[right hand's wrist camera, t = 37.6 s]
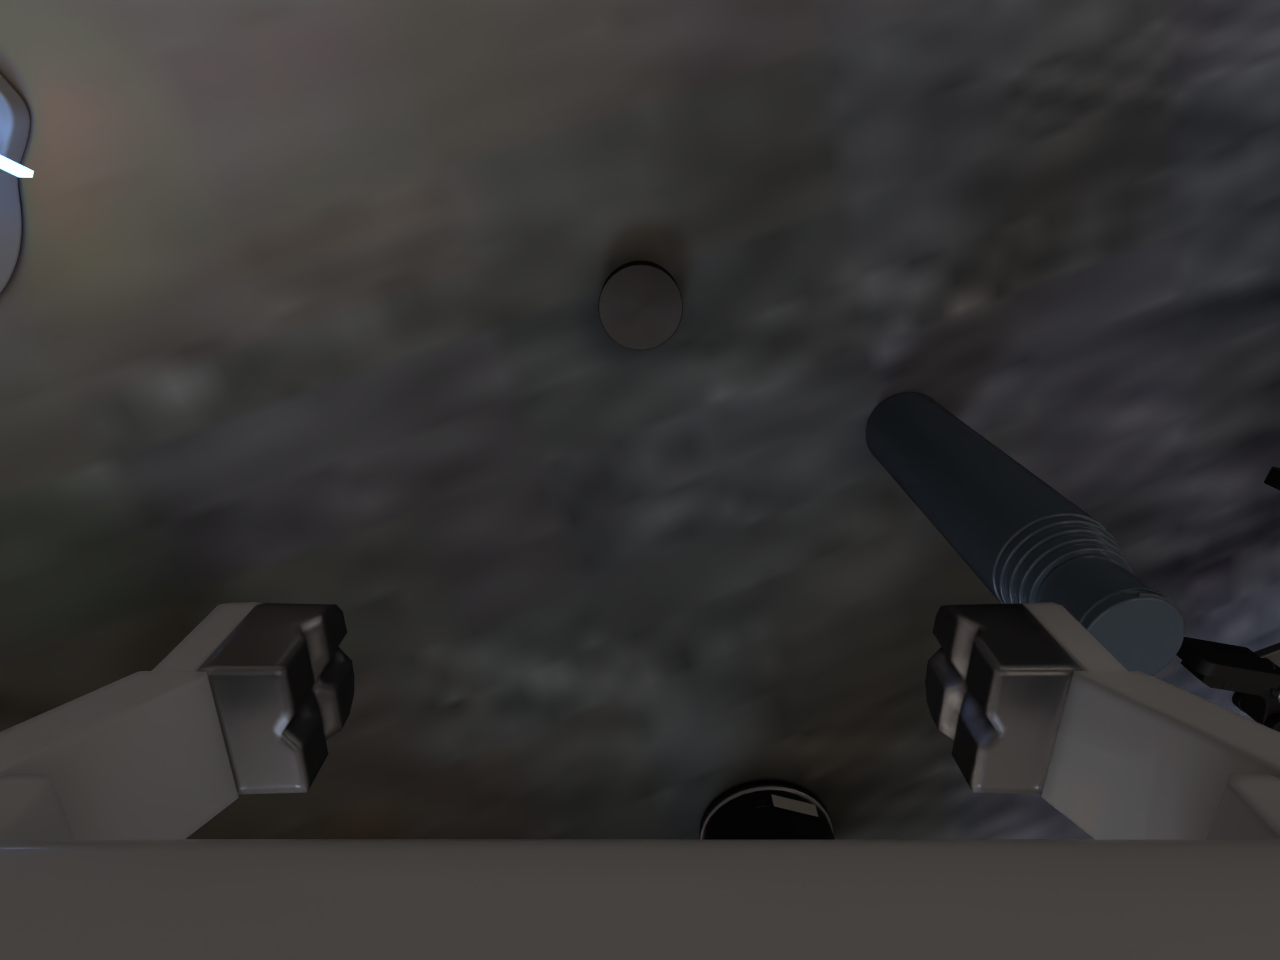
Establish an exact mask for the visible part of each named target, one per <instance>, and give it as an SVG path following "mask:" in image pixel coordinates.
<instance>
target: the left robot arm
mask: <svg viewBox="0 0 1280 960" xmlns="http://www.w3.org/2000/svg"><path fill="white" fill-rule="evenodd" d="M1264 483H1266V484H1268V485H1270V486H1272V487H1274V488H1276V489H1278V490H1280V468H1277V467H1272V468H1271V470H1270V472H1269V474H1268V475H1267V477H1266V479H1265V481H1264ZM1176 655H1177V656H1178V657H1180V658H1181V659H1182V662H1181V664H1182V665H1183V666H1184V667H1185V668H1187V669H1188V670H1189V671H1190V672H1191V673H1192V674H1194V675H1195V676H1196V677H1197V678H1198V679H1199V680H1201V681H1202V682H1203V683H1205V684H1206V685H1208V686H1209V687H1211V688H1217V689H1223V690H1229V691H1230V690H1231V691H1235V693H1234V695H1233V697H1232V702H1233V704H1234V705H1236V706H1237V707H1238V708H1239V709H1240V710H1241V711H1243V712H1245V713H1246V714H1248V715H1249V716H1250V717H1251V718H1252V719H1254V720H1255V721H1256V722H1257V723H1259V724H1262V725H1264V726H1266V727H1269V728H1271V729H1273V730H1275V731H1278V732H1280V643H1277V644H1275V645H1272V646H1269V647H1267V648H1264V649H1261V650H1258V651H1256V652H1252V651H1251V650H1250V649H1248V648H1246V647H1240V646H1234V645H1228V644H1222V643H1217V642H1211V641H1205V640H1199V639H1193V638H1188V637H1184V639H1183V642H1182V645H1181V647H1180V649H1179V651H1178V653H1177V654H1176ZM700 840H835V839H834V835H833V827H832V823H831V820H830V817H829V814H828V812H827V810H826V808H825V806H824V805H823V804H822V802H821V801H820V800H819V799H818V798H817V797H816V796H814V795H813V794H812V793H810V792H809V791H807V790H805V789H803V788H801V787H798V786H796V785H793V784H789V783H784V782H777V781H762V782H755V783H749V784H746V785H742V786H740V787H737V788H735V789H732V790H730V791H729V792H727V793H725V794H724V795H722V796H721V797H720V798H718V799H717V800H716V801H715V802H714V803H713V804H712V805H711V806H710V807H709V809H708V810H707V812H706V813H705V815H704V817H703V819H702V822H701V826H700Z"/></svg>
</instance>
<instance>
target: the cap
mask: <svg viewBox="0 0 1280 960" xmlns="http://www.w3.org/2000/svg"><path fill="white" fill-rule="evenodd" d="M598 308H599V317H600V320H601V323H602V325H603V328H604V329H605V331H606V332H607V334H608V335H609V336H610V337H611V338H612V339H613V340H614V341H615V342H617V343H618V344H620V345H622V346H624V347H626V348H630V349H634V350H647V349H652V348H655V347H657V346H660V345H661V344H663V343H665V342H666V341H667V340H668V339H669V338H670V337H671V336H672V335H673V334H674V333H675V331H676V330H677V328H678V326H679V324H680V321H681V318H682V312H683V302H682V297H681V293H680V290H679V288H678V285H677V283H676V281H675V280H674V278H673V277H672V276H671V274H670V273H669V272H668V271H667V270H665V269H664V268H663V267H661V266H659V265H657V264H655V263H652V262H648V261H634V262H630V263H626V264H624V265H622V266H620V267H619V268H617V269H616V270H615V271H614V272H612V274H611V275H610V276H609V277H608V279H607V280H606V282H605V284H604V286H603V289H602V291H601V294H600V298H599V306H598Z"/></svg>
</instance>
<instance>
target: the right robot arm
mask: <svg viewBox="0 0 1280 960" xmlns="http://www.w3.org/2000/svg"><path fill="white" fill-rule="evenodd" d="M29 129H30V116H29V111H28V109H27V106H26V104H25V103H24V101H23V99H22V98H21V97H20V95H19V94H18V93H17V92H16V91H15V90H14V88H13V87H12V86H11V85H10V84H9V83H8V82H7V81H6V79H5V78H4V77H3V76H2V75H1V74H0V293H1V292H2V290H3V289H4V288H5V286H6V284H7V283H8V281H9V279H10V277H11V275H12V273H13V271H14V268H15V266H16V263H17V259H18V256H19V251H20V245H21V236H22V215H21V206H20V197H19V189H18V177H32V176H33V172H34V171H32V170H30V169H28V168H26V167H24V166H22V165H20V162H21V159H22V156H23V153H24V150H25V147H26V143H27V139H28V135H29ZM346 634H347V629H346V625H345V620H344V615H343V611H342V610H341V609H340V608H339V607H338V606H337V605H336V604H291V603H263V604H262V603H260V602H253V603H226V604H220V605H218V606H217V607H216V608H215V609H214V610H213V611H212V612H211V613H210V614H209V615H208V616H207V617H206V618H205V619H204V620H203V621H202V622H201V623H200V624H199V625H198V626H197V627H196V628H195V629H194V630H193V631H192V632H191V633H190V634H189V635H188V636H187V637H186V638H185V639H184V640H183V641H182V642H181V643H180V644H179V645H178V646H177V647H176V648H175V649H174V650H173V651H172V652H171V653H170V654H169V655H168V656H167V657H165V658H164V659H163V660H162V661H161V662H160V663H159V664H158V665H157V666H156V667H155V668H154V669H153V670H152V671H139V672H137V673H134V674H132V675H130V676H127V677H125V678H123V679H121V680H118V681H116V682H114V683H111V684H109V685H107V686H105V687H102V688H100V689H98V690H95V691H93V692H91V693H89V694H86V695H84V696H82V697H80V698H77V699H75V700H73V701H70V702H68V703H66V704H64V705H61V706H59V707H57V708H54V709H52V710H50V711H48V712H45V713H43V714H41V715H38V716H36V717H34V718H32V719H29V720H27V721H25V722H22V723H20V724H18V725H16V726H13V727H11V728H9V729H6V730H4V731H2V732H0V960H1280V732H1278V731H1275V730H1273V729H1271V728H1269V727H1266V726H1264V725H1262V724H1259V723H1257V722H1255V721H1253V720H1250V719H1248V718H1246V717H1244V716H1241V715H1239V714H1237V713H1234V712H1232V711H1230V710H1228V709H1225V708H1223V707H1221V706H1219V705H1216V704H1214V703H1212V702H1209V701H1207V700H1205V699H1203V698H1200V697H1198V696H1196V695H1193V694H1191V693H1189V692H1187V691H1184V690H1182V689H1180V688H1178V687H1175V686H1173V685H1171V684H1168V683H1166V682H1164V681H1162V680H1159V679H1157V678H1155V677H1153V676H1150V675H1148V674H1146V673H1143V672H1141V671H1128V670H1127V669H1126V668H1125V667H1124V666H1123V665H1122V664H1121V663H1120V662H1119V661H1118V660H1117V659H1116V658H1115V657H1114V656H1113V655H1112V654H1111V653H1110V652H1109V651H1108V650H1107V649H1106V648H1104V647H1103V646H1102V645H1101V644H1100V643H1099V642H1098V641H1097V640H1096V639H1095V638H1094V637H1093V636H1092V635H1091V634H1090V633H1089V632H1088V631H1087V630H1086V629H1085V628H1084V627H1083V626H1082V625H1081V624H1080V623H1079V622H1078V621H1077V620H1076V619H1075V618H1074V617H1073V616H1072V615H1071V614H1070V613H1069V612H1068V611H1067V610H1066V609H1065V608H1064V607H1063V606H1062V605H1059V604H1056V603H1053V602H1043V603H1015V604H974V605H945V606H941V607H940V609H939V611H938V613H937V615H936V618H935V623H934V629H933V634H934V635H935V637H936V638H937V640H938V642H939V643H940V645H941V646H942V647H941V648H940V649H939V650H938V651H937V652H936V653H935V654H934V655H933V656H932V657H931V658H930V659H929V660H928V665H927V673H926V680H925V684H926V695H927V703H928V707H929V710H930V713H931V716H932V718H933V720H934V722H935V724H936V726H937V728H938V730H939V731H941V732H942V733H944V734H945V735H947V736H949V737H950V738H952V739H953V740H954V744H953V749H952V756H953V757H954V759H955V761H956V763H957V765H958V766H959V768H960V770H961V772H962V774H963V775H964V777H965V779H966V781H967V783H968V784H969V786H970V788H971V790H972V792H980V793H1017V794H1042V796H1041V797H1042V798H1043V799H1044V800H1046V801H1047V802H1048V803H1049V804H1051V805H1052V806H1053V807H1055V808H1056V809H1057V810H1058V811H1060V812H1061V813H1062V814H1064V815H1065V816H1066V817H1067V818H1069V819H1070V820H1071V821H1072V822H1074V823H1075V824H1076V825H1078V826H1079V827H1080V828H1081V829H1083V830H1084V831H1085V832H1087V833H1088V834H1089V835H1090V836H1092V837H1093V838H1094V839H1096V840H248V839H186V838H187V837H188V836H190V835H191V834H192V833H194V832H195V831H196V830H197V829H199V828H200V827H201V826H203V825H204V824H205V823H206V822H208V821H209V820H210V819H212V818H213V817H214V816H215V815H217V814H218V813H219V812H221V811H222V810H223V809H224V808H226V807H227V806H228V805H230V804H231V803H232V802H233V801H235V800H236V799H237V798H238V794H262V793H298V792H308V790H309V788H310V786H311V785H312V783H313V781H314V779H315V777H316V775H317V774H318V772H319V770H320V768H321V766H322V765H323V763H324V761H325V759H326V757H327V756H328V749H327V744H326V740H327V739H328V738H330V737H331V736H333V735H335V734H336V733H338V732H339V731H341V730H342V728H343V726H344V724H345V722H346V720H347V718H348V716H349V714H350V710H351V705H352V701H353V697H354V671H353V664H352V660H351V659H350V658H349V657H348V656H347V655H346V654H345V653H344V652H343V651H342V650H341V649H340V648H339V647H338V646H339V645H340V643H341V642H342V640H343V638H344V637H345V635H346Z"/></svg>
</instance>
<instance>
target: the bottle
mask: <svg viewBox="0 0 1280 960" xmlns="http://www.w3.org/2000/svg"><path fill="white" fill-rule="evenodd" d="M866 441H867V445H868V447H869V449H870V451H871V453H872V454H873V455H874V457H875V458H876V459H877V460H878V461H879V462H880V464H881V465H882V466H883V467H884V468H885V469H886V471H887V472H888V473H889V474H890V475H891V476H892V478H893V479H894V480H895V481H896V482H897V483H898V484H899V486H900V487H901V488H902V489H903V490H904V491H905V493H906V494H907V495H908V496H909V497H910V498H911V500H912V501H913V502H914V503H915V504H916V505H917V507H918V508H919V509H920V510H921V511H922V512H923V514H924V515H925V516H926V517H927V518H928V519H929V521H930V522H931V523H932V524H933V525H934V526H935V528H936V529H937V530H938V531H939V532H940V533H941V535H942V536H943V537H944V538H945V539H946V540H947V541H948V543H949V544H950V545H951V546H952V547H953V548H954V550H955V551H956V552H957V553H958V554H959V555H960V557H961V558H962V559H963V560H964V561H965V562H966V564H967V565H968V566H969V567H970V568H971V569H972V571H973V572H974V573H975V574H976V575H977V576H978V578H979V579H980V580H981V581H982V582H983V583H984V585H985V586H986V587H987V588H988V589H989V590H990V592H991V593H992V594H993V595H994V596H995V597H996V598H997V600H998V601H999V602H1000V603H1001V604H1015V603H1043V602H1053V603H1056V604H1059V605H1062V606H1063V607H1064V608H1065V609H1066V610H1067V611H1068V612H1069V613H1070V614H1071V615H1072V616H1073V617H1074V618H1075V619H1076V620H1077V621H1078V622H1079V623H1080V624H1081V625H1082V626H1083V627H1084V628H1085V629H1086V630H1087V631H1088V632H1089V633H1090V634H1091V635H1092V636H1093V637H1094V638H1095V639H1096V640H1097V641H1098V642H1099V643H1100V644H1101V645H1102V646H1103V647H1104V648H1106V649H1107V650H1108V651H1109V652H1110V653H1111V654H1112V655H1113V656H1114V657H1115V658H1116V659H1117V660H1118V661H1119V662H1120V663H1121V664H1122V665H1123V666H1124V667H1125V668H1126V669H1127V670H1128V671H1141V672H1143V673H1146V674H1148V675H1150V676H1152V675H1154V674H1156V673H1157V672H1159V671H1160V670H1162V669H1163V668H1164V667H1165V666H1167V665H1168V664H1169V663H1170V662H1171V661H1172V659H1173V658H1174V657H1175V656H1176V654H1177V653H1178V651H1179V649H1180V647H1181V645H1182V642H1183V639H1184V625H1185V622H1184V619H1183V615H1182V612H1181V611H1180V610H1179V608H1178V607H1177V605H1176V604H1175V603H1173V602H1172V601H1170V600H1169V599H1168V598H1167V597H1166V596H1164V595H1163V594H1161V593H1160V592H1158V591H1156V590H1153V589H1151V588H1149V587H1148V586H1147V585H1146V584H1144V583H1143V582H1142V581H1141V580H1139V579H1138V578H1137V577H1136V576H1134V575H1133V572H1132V570H1131V568H1130V566H1129V564H1128V562H1127V560H1126V558H1125V557H1124V555H1123V553H1122V551H1121V549H1120V547H1119V545H1118V543H1117V542H1116V540H1115V538H1114V537H1113V536H1112V535H1111V534H1110V533H1109V532H1108V531H1107V529H1106V528H1105V527H1104V526H1103V525H1101V524H1100V523H1099V522H1098V521H1096V520H1095V519H1094V518H1092V517H1091V516H1090V515H1088V514H1087V513H1086V512H1084V511H1083V510H1082V509H1080V508H1079V507H1077V506H1076V505H1075V504H1073V503H1072V502H1071V501H1069V500H1068V499H1067V498H1065V497H1064V496H1063V495H1061V494H1060V493H1059V492H1057V491H1056V490H1054V489H1053V488H1052V487H1050V486H1049V485H1048V484H1046V483H1045V482H1044V481H1042V480H1041V479H1040V478H1038V477H1037V476H1036V475H1034V474H1033V473H1031V472H1030V471H1029V470H1027V469H1026V468H1025V467H1023V466H1022V465H1021V464H1019V463H1018V462H1017V461H1015V460H1014V459H1013V458H1011V457H1010V456H1008V455H1007V454H1006V453H1004V452H1003V451H1002V450H1000V449H999V448H998V447H996V446H995V445H994V444H992V443H991V442H989V441H988V440H987V439H985V438H984V437H983V436H981V435H980V434H979V433H977V432H976V431H975V430H973V429H972V428H971V427H969V426H968V425H966V424H965V423H964V422H962V421H961V420H960V419H958V418H957V417H956V416H954V415H953V414H952V413H950V412H949V411H948V410H946V409H945V408H943V407H942V406H941V405H939V404H938V403H937V402H935V401H934V400H933V399H931V398H930V397H928V396H926V395H923V394H920V393H914V392H907V393H901V394H897V395H894V396H892V397H890V398H888V399H886V400H885V401H883V402H882V403H881V404H880V405H879V406H878V407H877V408H876V409H875V410H874V412H873V413H872V415H871V417H870V419H869V421H868V424H867V428H866Z"/></svg>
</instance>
